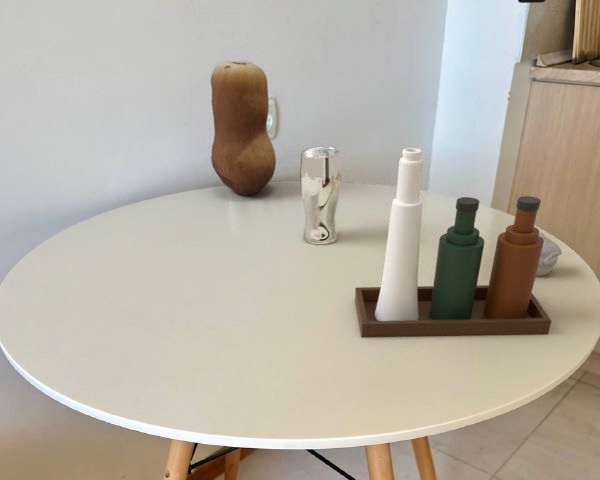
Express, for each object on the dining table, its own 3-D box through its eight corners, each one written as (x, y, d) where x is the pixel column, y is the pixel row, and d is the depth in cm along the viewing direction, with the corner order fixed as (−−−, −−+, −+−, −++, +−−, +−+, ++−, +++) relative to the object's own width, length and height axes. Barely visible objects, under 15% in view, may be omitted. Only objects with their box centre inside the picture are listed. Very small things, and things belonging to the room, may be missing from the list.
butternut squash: (289, 190, 130) (285, 59, 115) (247, 206, 121) (238, 68, 106) (243, 178, 137) (234, 54, 122) (201, 193, 129) (185, 62, 114)
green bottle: (465, 306, 84) (485, 192, 75) (475, 325, 80) (497, 207, 70) (426, 306, 84) (440, 193, 75) (433, 326, 80) (450, 208, 70)
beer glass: (322, 248, 103) (322, 159, 94) (293, 239, 107) (291, 152, 98) (347, 237, 107) (350, 150, 98) (318, 228, 111) (318, 143, 102)
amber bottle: (518, 305, 84) (544, 191, 75) (530, 324, 80) (560, 206, 70) (479, 305, 84) (500, 192, 75) (489, 325, 80) (513, 207, 70)
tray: (522, 301, 87) (526, 284, 85) (546, 339, 78) (552, 320, 76) (354, 304, 87) (355, 287, 85) (361, 342, 78) (362, 323, 77)
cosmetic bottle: (383, 303, 85) (395, 141, 72) (423, 311, 83) (444, 146, 70) (368, 322, 81) (378, 153, 68) (410, 331, 79) (430, 159, 66)
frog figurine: (508, 265, 97) (517, 224, 92) (554, 270, 95) (565, 227, 91) (508, 281, 92) (518, 238, 88) (556, 286, 90) (568, 242, 86)
